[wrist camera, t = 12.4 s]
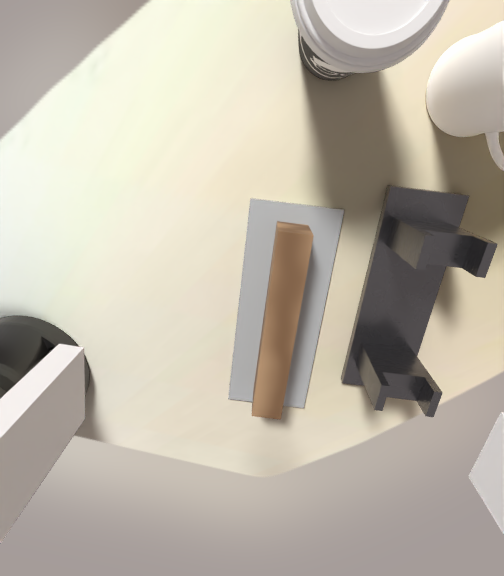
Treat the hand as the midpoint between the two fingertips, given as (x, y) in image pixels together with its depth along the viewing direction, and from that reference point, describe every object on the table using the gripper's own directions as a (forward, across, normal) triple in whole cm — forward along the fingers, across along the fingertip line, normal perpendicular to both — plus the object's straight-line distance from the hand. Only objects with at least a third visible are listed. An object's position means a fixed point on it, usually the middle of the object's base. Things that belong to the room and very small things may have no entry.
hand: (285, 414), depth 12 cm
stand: (+30, +15, -6) cm, 34 cm away
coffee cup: (+30, +2, +18) cm, 35 cm away
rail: (+30, +2, -10) cm, 32 cm away
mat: (+30, +3, -10) cm, 32 cm away
